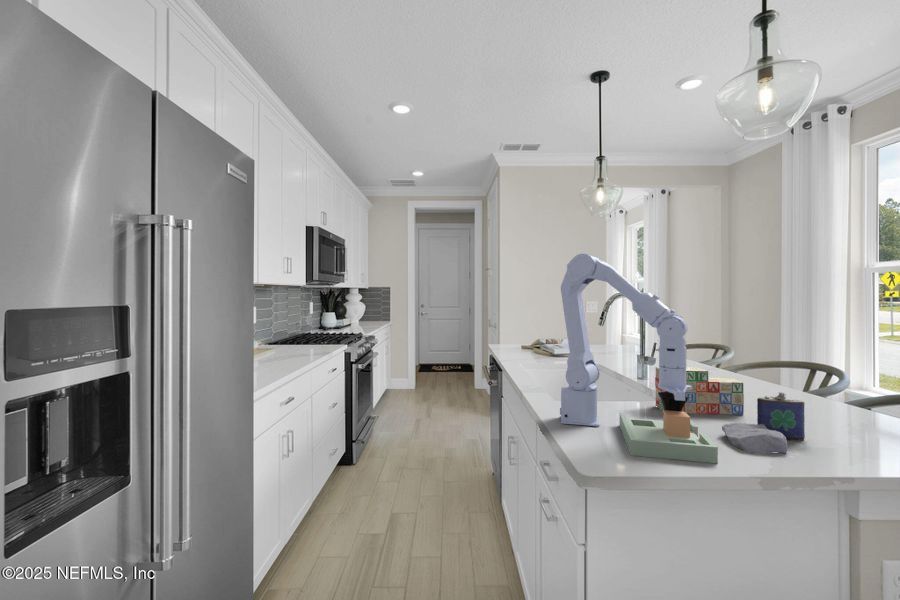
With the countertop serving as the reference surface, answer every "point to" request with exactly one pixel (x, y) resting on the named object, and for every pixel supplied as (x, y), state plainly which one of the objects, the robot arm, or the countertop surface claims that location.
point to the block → (676, 423)
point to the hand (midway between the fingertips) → (672, 424)
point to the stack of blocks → (708, 394)
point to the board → (666, 441)
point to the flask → (782, 416)
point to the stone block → (755, 437)
